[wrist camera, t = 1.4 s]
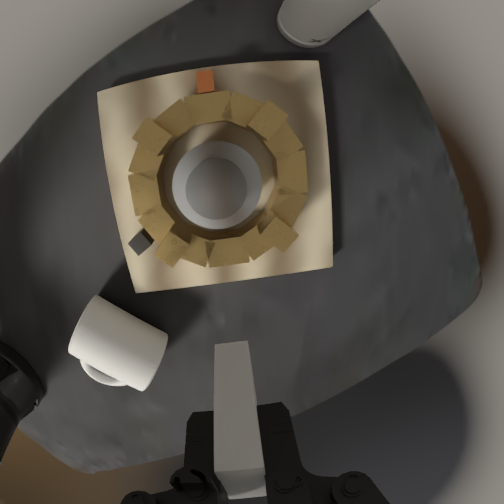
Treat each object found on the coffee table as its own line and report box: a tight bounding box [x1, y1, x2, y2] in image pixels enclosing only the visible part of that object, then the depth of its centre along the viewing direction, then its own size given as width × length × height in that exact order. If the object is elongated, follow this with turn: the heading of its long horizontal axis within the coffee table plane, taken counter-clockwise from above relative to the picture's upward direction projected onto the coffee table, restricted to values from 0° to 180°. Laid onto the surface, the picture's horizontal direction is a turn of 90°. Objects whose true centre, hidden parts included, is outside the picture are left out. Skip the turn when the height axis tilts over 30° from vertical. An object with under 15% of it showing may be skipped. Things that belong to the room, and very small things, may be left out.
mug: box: [68, 295, 168, 391], centre depth 32 cm, size 12×10×8 cm
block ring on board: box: [97, 60, 333, 293], centre depth 25 cm, size 22×22×10 cm
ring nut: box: [128, 70, 308, 268], centre depth 25 cm, size 16×18×5 cm
